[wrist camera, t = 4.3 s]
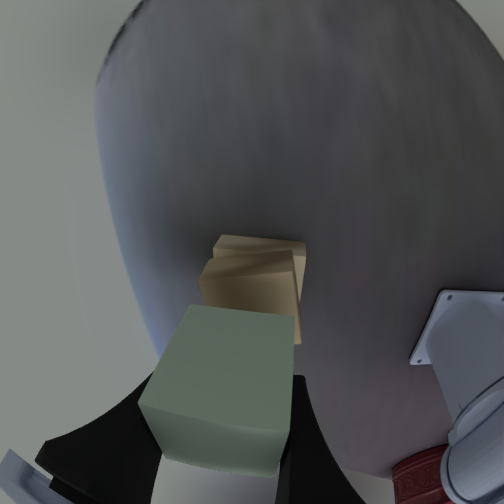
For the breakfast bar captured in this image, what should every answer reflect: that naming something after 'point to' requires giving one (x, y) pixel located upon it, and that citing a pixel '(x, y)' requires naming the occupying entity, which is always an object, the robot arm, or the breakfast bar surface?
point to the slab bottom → (262, 250)
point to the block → (224, 390)
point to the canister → (420, 479)
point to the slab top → (253, 284)
